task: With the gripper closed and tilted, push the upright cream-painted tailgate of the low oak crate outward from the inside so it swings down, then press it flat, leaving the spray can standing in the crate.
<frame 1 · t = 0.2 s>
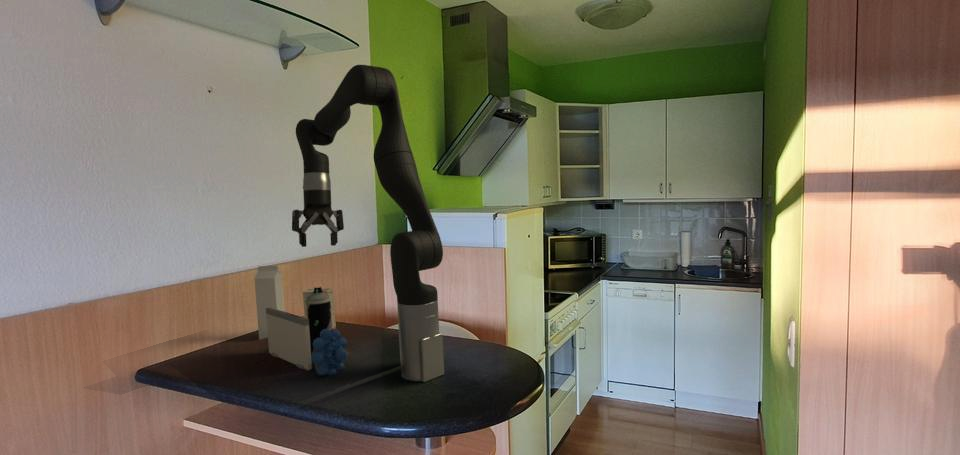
hand: (319, 246, 142), 28 cm above the countertop, tool pointing down, fingers open, 8 cm apart
grapes: (335, 379, 114), on the countertop
spray can: (323, 368, 122), resting in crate
supplement box: (321, 331, 156), on the countertop
tailgate: (287, 338, 123), point 7 cm above the countertop, hinge at 0.0°
milk: (273, 338, 150), on the countertop
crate: (307, 361, 127), on the countertop
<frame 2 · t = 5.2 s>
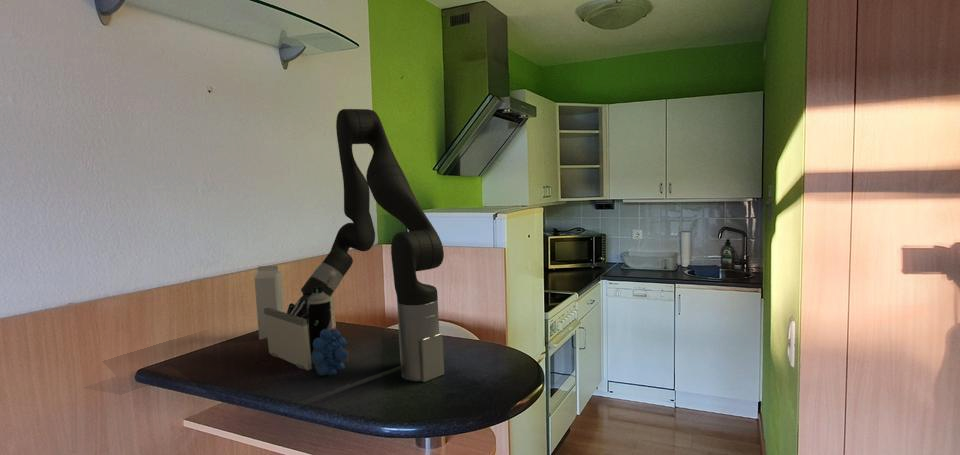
hand: (282, 338, 127), 6 cm above the countertop, tool tilted 45°, fingers closed
tailgate: (286, 338, 123), point 7 cm above the countertop, hinge at 2.3°, touching gripper
everything else where it was.
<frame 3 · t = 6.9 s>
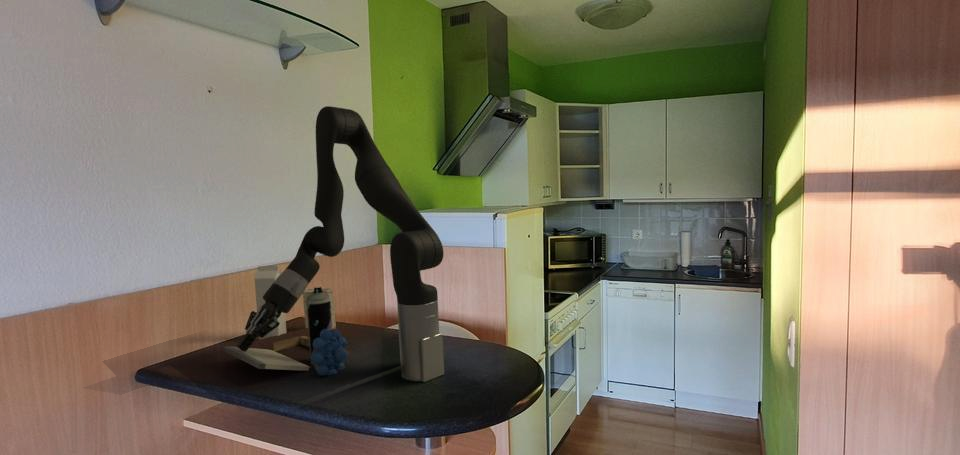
hand: (240, 349, 120), 6 cm above the countertop, tool tilted 45°, fingers closed
tailgate: (266, 358, 119), point 3 cm above the countertop, hinge at 70.8°
everything else where it was.
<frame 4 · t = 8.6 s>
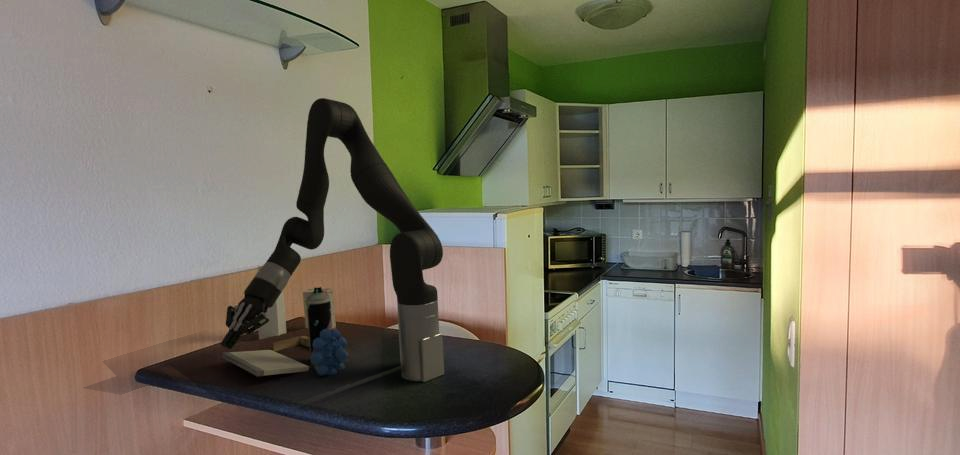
hand: (225, 347, 115), 8 cm above the countertop, tool tilted 45°, fingers closed
tailgate: (265, 362, 119), point 3 cm above the countertop, hinge at 78.7°
everything else where it was.
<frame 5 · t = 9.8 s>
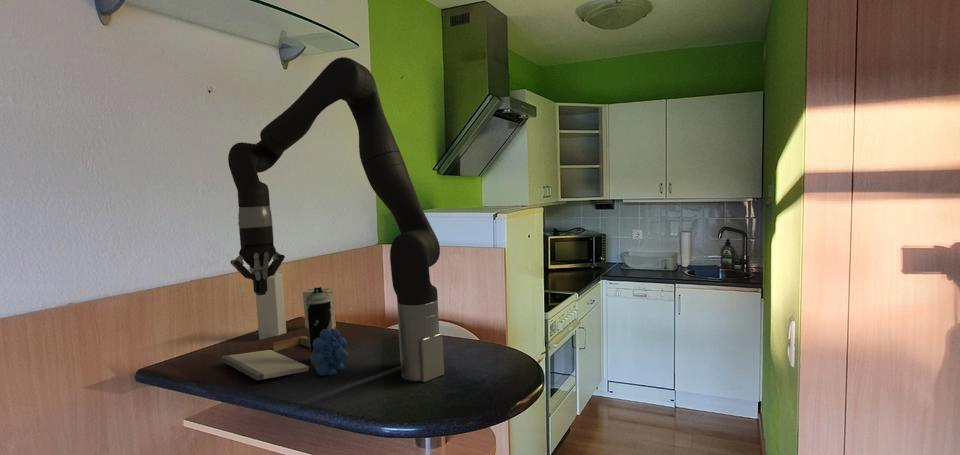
hand: (261, 294, 123), 18 cm above the countertop, tool pointing down, fingers closed
tailgate: (265, 364, 119), point 2 cm above the countertop, hinge at 82.8°
everything else where it was.
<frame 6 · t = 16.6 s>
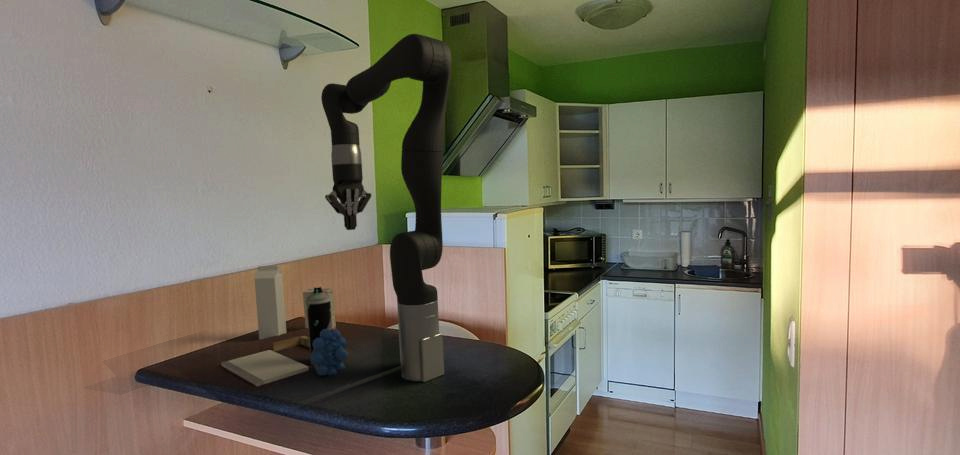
hand: (351, 229, 130), 33 cm above the countertop, tool pointing down, fingers closed
tailgate: (265, 366, 119), point 2 cm above the countertop, hinge at 90.1°
everything else where it was.
at the end: tailgate at +90° (first picture: +0°) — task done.
